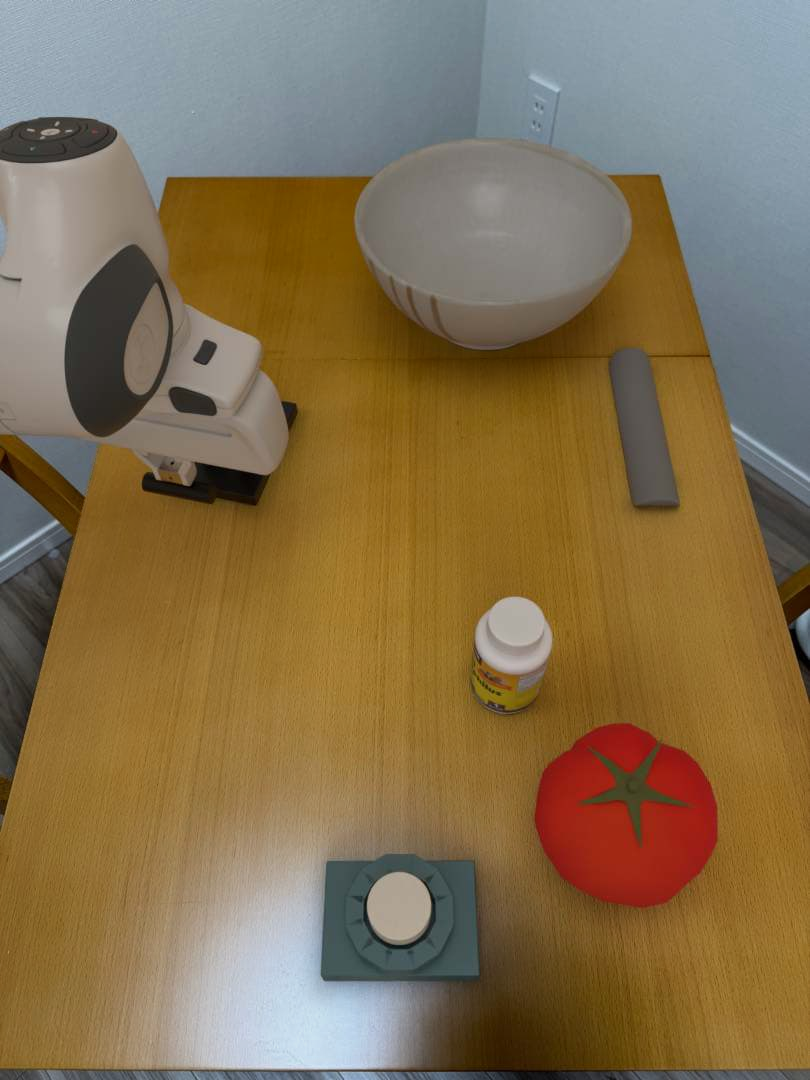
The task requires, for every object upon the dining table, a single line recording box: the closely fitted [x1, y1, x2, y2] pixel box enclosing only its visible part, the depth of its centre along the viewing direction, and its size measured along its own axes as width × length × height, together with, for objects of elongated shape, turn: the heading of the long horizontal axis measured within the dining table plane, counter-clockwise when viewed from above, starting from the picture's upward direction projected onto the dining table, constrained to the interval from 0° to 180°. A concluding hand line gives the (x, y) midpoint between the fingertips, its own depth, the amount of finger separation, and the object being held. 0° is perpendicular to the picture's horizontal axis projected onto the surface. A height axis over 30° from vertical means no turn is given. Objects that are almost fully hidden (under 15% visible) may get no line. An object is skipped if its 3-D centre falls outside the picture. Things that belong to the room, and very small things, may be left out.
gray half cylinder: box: [608, 347, 681, 507], centre depth 82 cm, size 4×20×2 cm, turn 179°
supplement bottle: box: [469, 596, 553, 715], centre depth 63 cm, size 6×6×10 cm
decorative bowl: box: [353, 137, 633, 351], centre depth 88 cm, size 27×27×12 cm
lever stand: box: [193, 400, 298, 506], centre depth 77 cm, size 12×9×13 cm
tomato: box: [533, 722, 719, 909], centre depth 56 cm, size 12×12×10 cm
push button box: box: [320, 853, 481, 982], centre depth 56 cm, size 10×7×4 cm
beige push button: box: [367, 872, 431, 945], centre depth 54 cm, size 4×4×2 cm
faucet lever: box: [141, 471, 217, 505], centre depth 72 cm, size 13×6×2 cm, turn 166°
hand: (177, 477), depth 71 cm, fingers closed, pressing on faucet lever
